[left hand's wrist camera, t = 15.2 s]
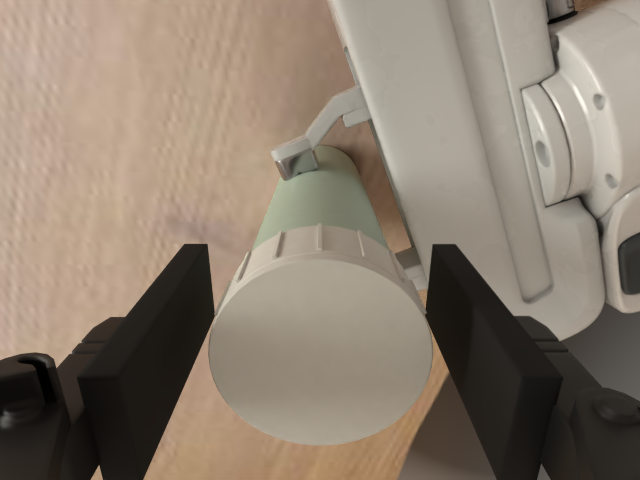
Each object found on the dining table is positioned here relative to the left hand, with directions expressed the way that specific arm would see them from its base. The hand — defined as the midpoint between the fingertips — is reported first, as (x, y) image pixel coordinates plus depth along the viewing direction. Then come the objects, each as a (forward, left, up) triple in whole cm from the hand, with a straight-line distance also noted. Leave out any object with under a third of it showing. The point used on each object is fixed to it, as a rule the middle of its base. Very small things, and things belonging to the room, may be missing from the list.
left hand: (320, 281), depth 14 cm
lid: (0, 0, +4) cm, 4 cm away
